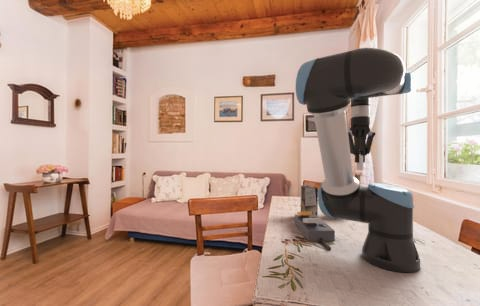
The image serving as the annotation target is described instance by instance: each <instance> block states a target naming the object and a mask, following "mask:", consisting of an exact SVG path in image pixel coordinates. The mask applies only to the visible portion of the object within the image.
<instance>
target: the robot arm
mask: <svg viewBox="0 0 480 306" xmlns="http://www.w3.org/2000/svg"><path fill="white" fill-rule="evenodd" d="M411 91H412V73H411V72H410V71H406V63H405V62H404V60H403V59H402V58H401V56H400V55H398V54H396V53H395V52H392V51H389V50H386V49H382V48H377V47H376V48H375V47H361V48H360V47H359V48H355V49H352V50H348V51H345V52H340V53H336V54H335V53H334V54H332V55H328V56H321V57H317V58H314V59H311V60H309V61H306V62H303V63H302V64H301V66H300V67H299V69H298V70H297V75H296V79H295V95H296V99H297V101H298V103H299V104H300V105H302V106H304V105H305V106H306V109H307V113H309V114H311V116H313V117H314V124H315V129H316V134H317V136H316V137H317V141H318V146H319V150H320V151H319V152H320V156H321V163H322V169H323V173H324V179H323V181H321V184H320V186H319V187H318V207H319V209H320V211H321V213H322V214H323V215H324V216H326V217H330V218H333V219H336V220H337V219H338V220H346V221H352V222H357V223H364V224H367V225H368V228H367V229H368V232H367V234H366V237H365V240H364V242H363V245H362V246H361V247H362V248H361V256H362V258H363V259H364V260H365V261H367V262H368V263H370V264H371V265H374V266H376V267H377V268H380V269H383V270H387V271H392V272H397V273H416V272H418V271H419V270H421V257H420V255H419V253H418V250H417V246H416V244H415V242H414V241H415V240H414V208H415V204H414V196H413V193H412V192H411V191H410V190H408V189H407V188H403V187H400V186H396V185H392V184H387V183H380V182H379V183H378V182H369V183H368V185H367V186H362V185H360V180H359V179H358V178H357V177H355V176H354V172H353V171H354V169H353V164H352V163H353V162H352V156H351V155H353V156H354V163H356V169H355V170H356V171H364V163H365V162H366V156H367V155H369V154H370V152H371V148H372V144H373V140H374V137H375V136H376V132H374V131H372V130H371V128H370V123H371V121H370V120H371V117H370V115H371V112H370V111H371V110H370V109H371V104H370V102H371V100H370V99H371V98H379V97H386V96H387V97H388V96H394V95H402V94H408V93H411ZM348 107H350V117H351V118H350V129H348V123H347V122H348V121H347V113H346V110H347V108H348Z"/></svg>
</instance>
